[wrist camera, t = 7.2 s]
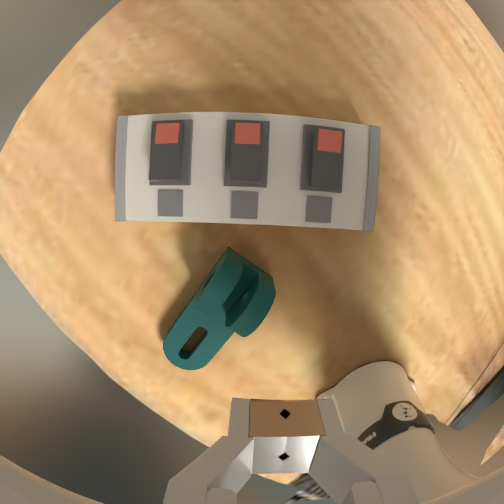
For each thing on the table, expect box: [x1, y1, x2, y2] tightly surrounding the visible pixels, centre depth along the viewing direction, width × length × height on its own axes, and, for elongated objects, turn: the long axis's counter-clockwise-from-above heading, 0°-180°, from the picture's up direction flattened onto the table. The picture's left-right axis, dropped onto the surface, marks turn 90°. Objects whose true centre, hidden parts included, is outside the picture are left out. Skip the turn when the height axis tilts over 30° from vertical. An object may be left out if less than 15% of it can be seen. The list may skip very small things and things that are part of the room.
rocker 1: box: [149, 122, 185, 181], centre depth 28 cm, size 6×3×1 cm, turn 178°
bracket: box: [163, 247, 276, 370], centre depth 35 cm, size 18×7×8 cm, turn 144°
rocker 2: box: [229, 122, 264, 183], centre depth 28 cm, size 6×3×1 cm, turn 177°
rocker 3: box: [309, 127, 345, 189], centre depth 28 cm, size 6×3×1 cm, turn 177°
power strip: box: [115, 112, 380, 232], centre depth 32 cm, size 12×29×5 cm, turn 87°
